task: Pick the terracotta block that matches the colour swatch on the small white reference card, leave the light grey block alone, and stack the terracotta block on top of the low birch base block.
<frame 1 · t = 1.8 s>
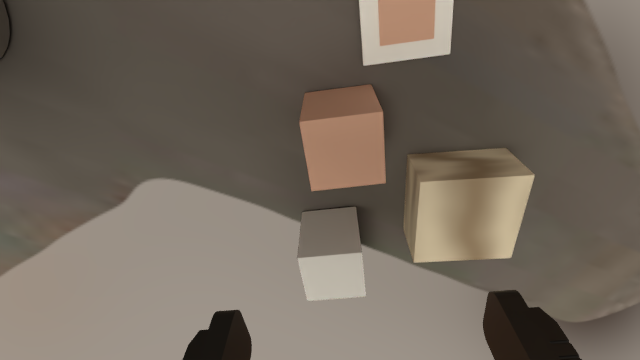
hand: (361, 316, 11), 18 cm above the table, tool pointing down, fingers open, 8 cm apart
terracotta block: (340, 119, 26), on the table
grey block: (332, 230, 32), on the table
reference card: (405, 12, 22), on the table
birch base block: (450, 191, 30), on the table
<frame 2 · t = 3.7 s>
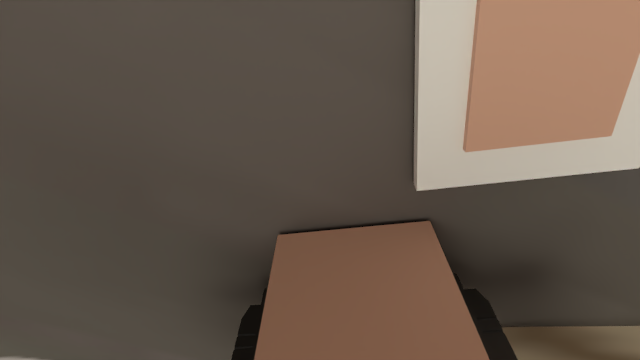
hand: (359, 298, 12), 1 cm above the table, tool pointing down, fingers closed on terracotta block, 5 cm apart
terracotta block: (358, 280, 12), on the table, touching gripper
reference card: (538, 67, 8), on the table
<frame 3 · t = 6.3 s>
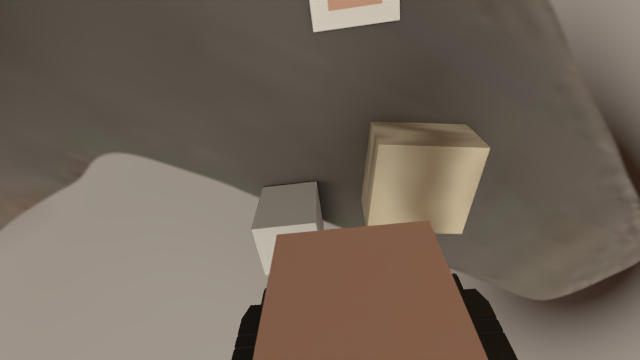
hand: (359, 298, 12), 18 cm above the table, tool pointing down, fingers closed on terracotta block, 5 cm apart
terracotta block: (357, 280, 12), point 17 cm above the table, touching gripper
grey block: (294, 206, 32), on the table
birch base block: (410, 165, 30), on the table
when the fingers open (7 cm above the table, at t = 8.6 s): terracotta block drops 2 cm, resting on birch base block.
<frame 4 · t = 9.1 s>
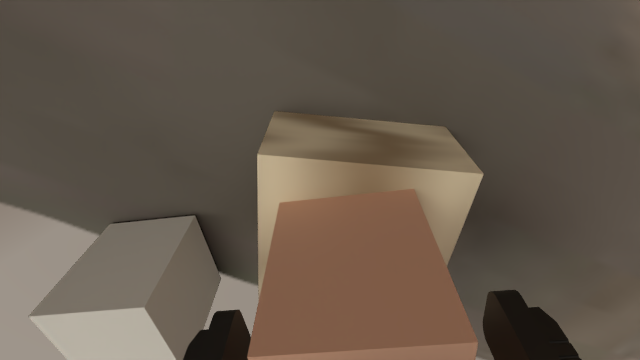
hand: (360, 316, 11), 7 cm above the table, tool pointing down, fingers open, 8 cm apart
terracotta block: (351, 245, 14), point 4 cm above the table, touching birch base block
grey block: (168, 252, 20), on the table
birch base block: (348, 190, 18), on the table, touching terracotta block
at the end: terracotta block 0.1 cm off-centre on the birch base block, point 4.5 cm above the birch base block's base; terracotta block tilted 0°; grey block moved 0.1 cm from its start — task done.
